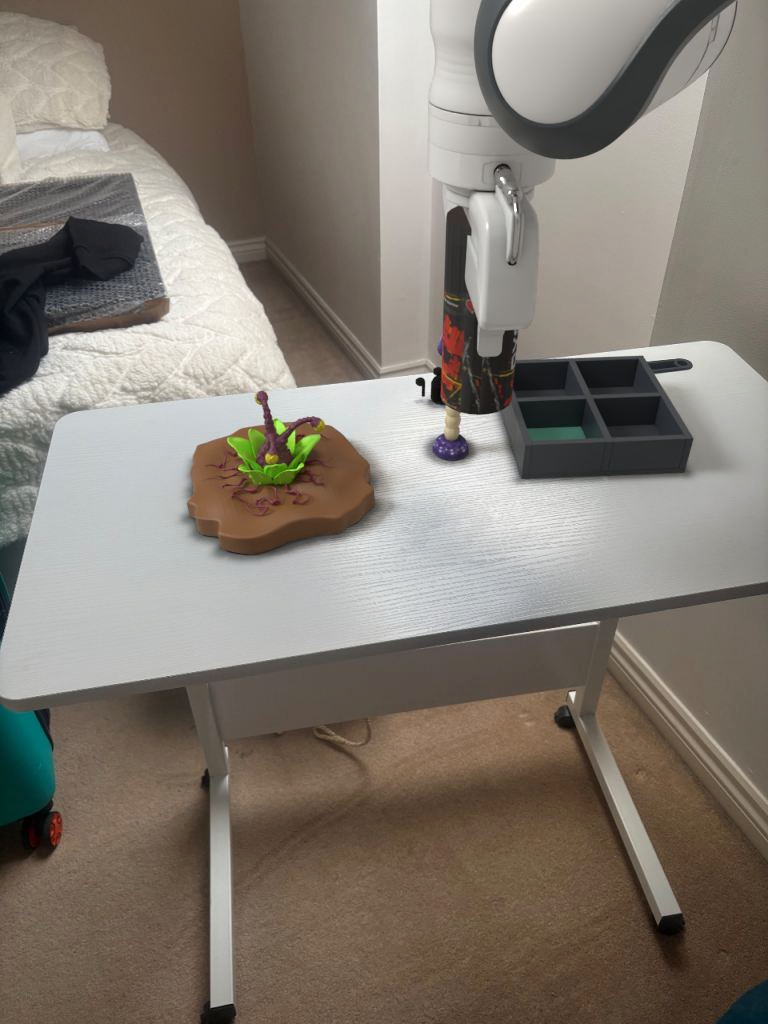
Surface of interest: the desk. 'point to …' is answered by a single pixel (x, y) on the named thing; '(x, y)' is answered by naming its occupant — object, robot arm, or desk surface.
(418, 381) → the wireless earbuds
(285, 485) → the plant
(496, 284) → the robot arm
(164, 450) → the desk surface
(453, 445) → the toy lamp
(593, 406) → the compartment tray
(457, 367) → the deodorant
